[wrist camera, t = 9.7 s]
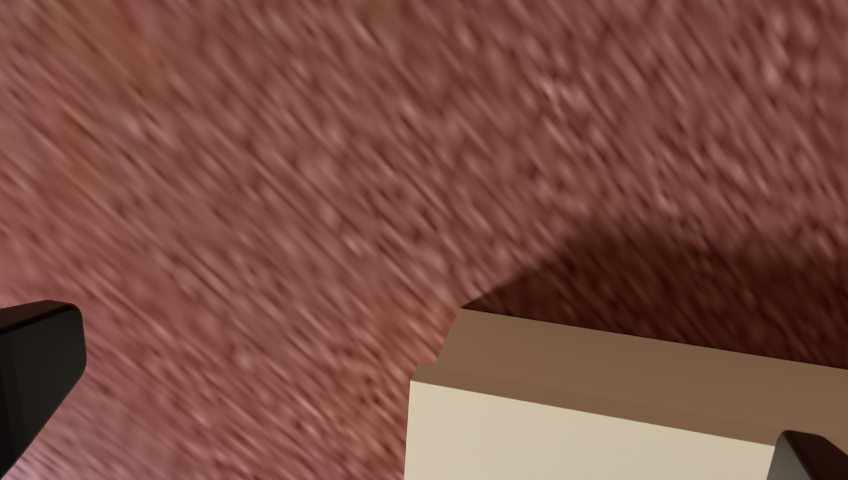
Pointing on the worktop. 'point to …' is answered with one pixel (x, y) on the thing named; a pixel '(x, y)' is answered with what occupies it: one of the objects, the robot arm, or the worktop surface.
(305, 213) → the worktop surface
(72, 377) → the robot arm
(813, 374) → the box
